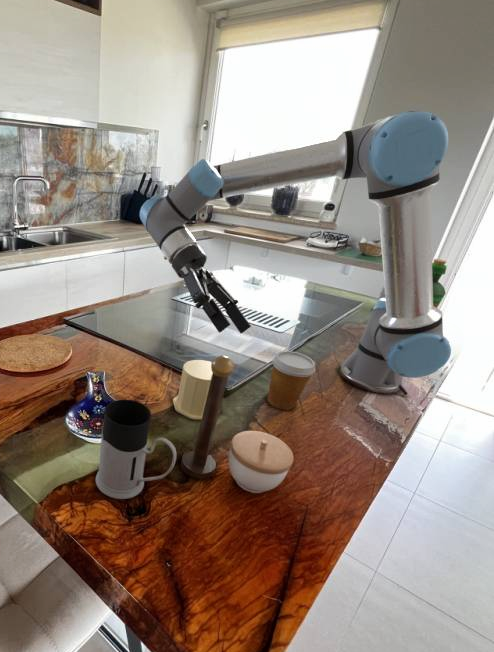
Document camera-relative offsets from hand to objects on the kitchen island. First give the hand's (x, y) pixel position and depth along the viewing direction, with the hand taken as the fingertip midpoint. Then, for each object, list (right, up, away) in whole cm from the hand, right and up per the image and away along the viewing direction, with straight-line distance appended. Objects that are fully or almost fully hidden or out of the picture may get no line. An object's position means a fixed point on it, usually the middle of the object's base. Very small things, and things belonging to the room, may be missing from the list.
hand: (236, 329), depth 90 cm
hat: (-7, -17, +7) cm, 20 cm away
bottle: (+71, +3, +52) cm, 88 cm away
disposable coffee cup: (+14, -16, +12) cm, 25 cm away
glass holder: (-23, -31, -17) cm, 42 cm away
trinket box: (-1, -30, -13) cm, 33 cm away
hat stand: (-10, -28, -11) cm, 32 cm away
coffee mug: (+85, +18, +79) cm, 117 cm away
